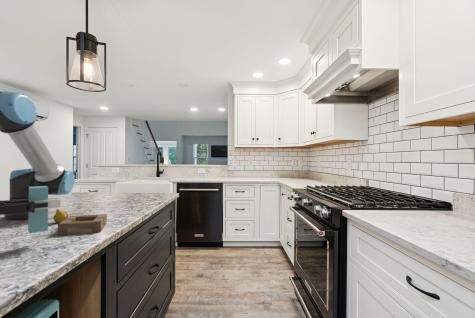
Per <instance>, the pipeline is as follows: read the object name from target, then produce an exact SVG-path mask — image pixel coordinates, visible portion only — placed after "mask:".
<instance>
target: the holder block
mask: <svg viewBox="0 0 475 318" xmlns="http://www.w3.org/2000/svg"><path fill="white" fill-rule="evenodd" d="M107 215H108V214H107V213H105V214H104V213H103V214H85V215H70V216H69V215H68V218H66V219H65V220H64V221H62V222H61V223H57V236H65V235H66V236H67V235H80V234H91V233H101V232H102V230H103V229H104V228H105V226H106V225H107V224H108V223H107V221H108V220H107V218H108V216H107Z"/></svg>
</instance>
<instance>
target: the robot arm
mask: <svg viewBox="0 0 475 318" xmlns="http://www.w3.org/2000/svg"><path fill="white" fill-rule="evenodd" d="M37 114H38V112H37V107H36V104H35V103H34V101H33V100H32V99H31V98H30V97H29V96H27V95H26V94H24V93H21V92H18V91H11V90H5V91H4V90H3V91H0V133H3V134H8V136H9V137H10V138H11V140H12V142H13V143H14V144H15V146H16V148H17V149H18V150H19V151H20V153H21V154H22V156H23V157H24V158H25V159H26V161H27V162H28V164H29V165H30V167H31V168H24V169H23V168H22V169H14V170H12V171H11V172H10V174H9V175H10V176H9V179H8V180H9V199H8V200H7V199H5V200H0V216H3V219H4V220H6V221H7V220H8V221H12V220H13V221H17V220H28V212H32V213H34V212H35V210H40V209H48V210H49V209H59V208H61V198H58V196H62V195H68V194H70V193H71V192H72V191H73V188H74V186H75V181H76V180H75V179H76V177H75V173H74V172H73V171H70V170H65V167H64V166H63V165H61V164H60V163H57V162H56V160H55V159H54V157H53V155H52V154H51V152H50V151H49V149H48V147H47V145H46V144H45V142H44V140H43V139H42V137H41V136H40V134H39V132H38V131H37V129H36V127H35V126H34V125H35V124H36V118H37V116H38V115H37ZM37 186H47V187H48V196H53V197H48V200H41V201H35V202H29V187H37Z"/></svg>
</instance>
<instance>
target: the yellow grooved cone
mask: <svg viewBox="0 0 475 318" xmlns="http://www.w3.org/2000/svg"><path fill="white" fill-rule="evenodd" d="M68 217H69V214H68V212H67V211H65V210H61V209H59V208H56V212H55V213H54V215H53V222H55V223H57V224H59V223H61V222H62V221H64V220H65V219H66V218H68Z"/></svg>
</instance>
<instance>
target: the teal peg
mask: <svg viewBox="0 0 475 318" xmlns="http://www.w3.org/2000/svg"><path fill="white" fill-rule="evenodd" d="M48 198H49V195H48V187H47V186H37V187H29V202H35V201H41V200H48ZM27 220H28V221H27V222H28V224H27V226H28V227H27V231H28V232H29V234H34V233H40V232H46V231H49V230H48V229H49V222H48V221H49V209H40V210H35V212H34V213H32V212H28V219H27Z"/></svg>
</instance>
